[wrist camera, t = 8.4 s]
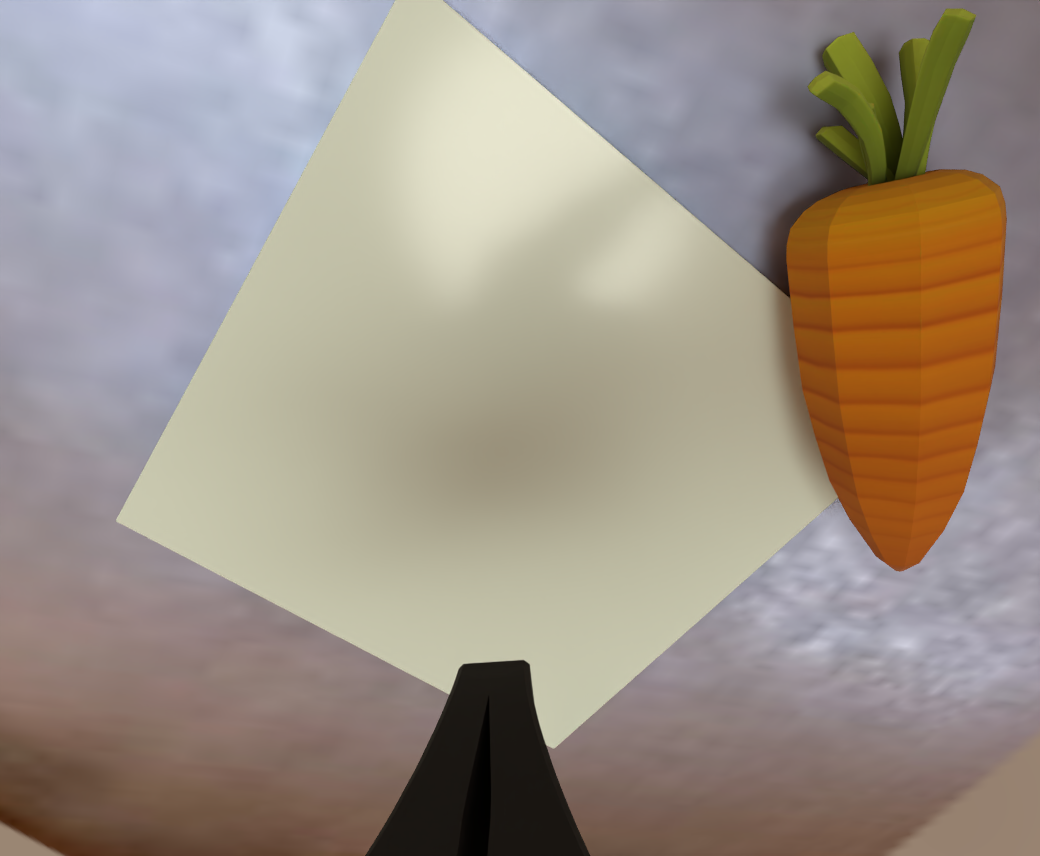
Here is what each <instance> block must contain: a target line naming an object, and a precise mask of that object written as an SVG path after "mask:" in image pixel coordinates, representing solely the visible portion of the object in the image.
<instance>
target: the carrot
mask: <svg viewBox="0 0 1040 856" xmlns="http://www.w3.org/2000/svg"><path fill="white" fill-rule="evenodd" d="M975 17H976V15H975V14H973V13H971V12H969V11H967V10H965V9H946V10H945V12H944V14H943V15H942V17H941V19H940V20H939V22H938V24H937V25H936V27H935V29H934V30H933V33H932V35H931V38H930V41H929V40H927V39H925V38H919V39H911V40H909V41H907V42H906V43H904V44H903V46H902V48H901V50H900V52H899V59H900V70H901V78H902V85H903V92H904V99H905V112H904V130H903V138H902V134H901V130H900V126H899V122H898V119H897V116H896V112H895V109H894V106H893V103H892V99H891V96H890V94H889V92H888V90H887V88H886V86H885V84H884V82H883V80H882V78H881V77H880V75H879V73H878V71H877V69H876V67H875V65H874V63H873V61H872V59H871V58H870V56H869V55H868V53H867V52H866V50H865V49H864V47H863V46H862V44H861V42H860V41H859V39H858V38H857V36H856V35H855V33H854V32H852V33H849V34H846V35H843V36H840V37H838V38H837V39H835V40H834V41H833V42H832V43H831V44H830V45H829V46H828V47H827V48H826V49H825V51H824V53H823V55H822V57H823V61H824V65H825V67H826V69H827V70H828V71H824V72H823V73H821V74H820V75H818V76H817V77H815V78H814V79H813V80H812V82H811V83H810V84H809V85H808V89H809V91H810V92H811V93H812V94H814V95H815V96H816V97H818V98H820V99H821V100H823V101H825V102H826V103H828V104H830V105H832V106H833V107H835V108H836V109H837V110H838V111H839V112H840V113H841V115H842V116H843V117H844V118H845V119H846V120H847V121H848V123H849V124H850V126H851V127H852V128H853V130H854V131H855V133H856V134H857V136H858V139H857V138H856V137H855V136H854V135H852V134H851V133H850V132H849V131H848V130H847V129H845V128H844V127H843V126H842V125H841V126H829V127H822V128H821V129H820V131H819V132H818V133H817V134H816V135H815V136H816V138H817V139H818V140H819V141H820V142H821V143H822V144H824V145H825V146H826V147H827V148H829V149H830V150H831V151H832V152H833V153H835V154H836V155H837V156H838V157H840V158H841V159H842V160H843V161H845V162H846V163H847V164H848V165H850V166H851V167H852V168H854V169H855V170H856V171H857V172H859V173H860V174H861V175H863V176H864V177H865V178H866V179H868V184H863V185H859V186H855V187H850V188H847V189H844V190H841V191H839V192H836V193H834V194H832V195H830V196H828V197H825V198H823V199H821V200H819V201H817V202H816V203H815V204H813V205H812V206H811V207H809V208H808V209H807V210H805V211H804V212H803V213H802V214H801V216H800V217H799V218H798V219H797V221H796V222H795V223H794V225H793V226H792V227H791V228H790V232H789V237H788V241H787V254H786V261H787V270H788V280H789V289H790V299H791V308H792V318H793V327H794V334H795V341H796V348H797V355H798V363H799V370H800V377H801V384H802V390H803V394H804V398H805V401H806V405H807V409H808V412H809V416H810V420H811V423H812V427H813V431H814V435H815V438H816V441H817V444H818V447H819V450H820V453H821V456H822V460H823V463H824V466H825V469H826V472H827V475H828V478H829V481H830V483H831V485H832V487H833V488H834V490H835V492H836V494H837V496H838V498H839V500H840V502H841V504H842V506H843V507H844V509H845V511H846V513H847V515H848V517H849V519H850V520H851V522H852V523H853V525H854V526H855V527H856V529H857V530H858V532H859V533H860V534H861V536H862V537H863V539H864V540H865V541H866V543H867V544H868V546H869V547H870V548H871V550H872V551H873V553H874V554H875V555H876V557H878V558H879V559H881V560H882V561H883V562H885V563H886V564H887V565H889V566H890V567H891V568H893V569H894V570H896V571H904V570H906V569H908V568H910V567H912V566H914V565H916V564H918V563H920V561H921V560H922V559H923V557H924V556H925V555H926V553H927V552H928V551H929V549H930V548H931V547H932V545H933V544H934V543H935V541H936V540H937V539H938V537H939V536H940V535H941V534H942V532H943V531H944V529H945V527H946V525H947V523H948V521H949V520H950V518H951V516H952V514H953V512H954V510H955V508H956V506H957V504H958V502H959V500H960V498H961V496H962V494H963V493H964V489H965V486H966V482H967V479H968V475H969V472H970V468H971V465H972V461H973V458H974V454H975V451H976V447H977V444H978V440H979V435H980V431H981V427H982V422H983V418H984V414H985V409H986V405H987V401H988V396H989V392H990V387H991V383H992V378H993V374H994V369H995V361H996V351H997V341H998V331H999V320H1000V310H1001V300H1002V286H1003V270H1004V253H1005V237H1006V221H1007V218H1006V206H1005V200H1004V197H1003V195H1002V192H1001V189H1000V186H998V185H997V184H995V183H994V182H993V181H991V180H990V179H988V178H987V177H986V176H984V175H983V174H979V173H975V172H972V171H968V170H946V169H940V170H934V171H928V172H925V170H926V164H927V158H928V152H929V146H930V141H931V137H932V132H933V128H934V124H935V120H936V117H937V114H938V111H939V108H940V106H941V103H942V100H943V97H944V94H945V92H946V89H947V86H948V83H949V80H950V78H951V75H952V72H953V69H954V66H955V63H956V61H957V59H958V57H959V55H960V53H961V51H962V48H963V46H964V44H965V42H966V40H967V38H968V36H969V33H970V30H971V28H972V25H973V22H974V20H975Z"/></svg>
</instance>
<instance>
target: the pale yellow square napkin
mask: <svg viewBox="0 0 1040 856" xmlns="http://www.w3.org/2000/svg"><path fill="white" fill-rule="evenodd" d="M837 498H838V496H837V494H836V492H835V490H834V488H833V487H832V485H831V483H830V481H829V478H828V475H827V472H826V469H825V466H824V463H823V460H822V456H821V453H820V450H819V447H818V444H817V441H816V438H815V435H814V431H813V427H812V423H811V420H810V416H809V412H808V409H807V405H806V401H805V398H804V394H803V390H802V384H801V377H800V370H799V363H798V355H797V348H796V341H795V334H794V327H793V318H792V308H791V299H790V298H789V297H788V296H787V295H785V294H784V293H783V292H782V291H781V290H780V289H778V288H777V287H776V286H775V285H774V284H773V283H771V282H770V281H769V280H768V279H767V278H766V277H764V276H763V275H762V274H761V273H760V272H759V271H757V270H756V269H755V268H754V267H753V266H752V265H750V264H749V263H748V262H747V261H746V260H745V259H743V258H742V257H741V256H740V255H739V254H738V253H736V252H735V251H734V250H733V249H732V248H731V247H729V246H728V245H727V244H726V243H725V242H724V241H722V240H721V239H720V238H719V237H718V236H717V235H715V234H714V233H713V232H712V231H711V230H710V229H708V228H707V227H706V226H705V225H704V224H703V223H701V222H700V221H699V220H698V219H697V218H696V217H695V216H693V215H692V214H691V213H690V212H689V211H688V210H686V209H685V208H684V207H683V206H682V205H681V204H679V203H678V202H677V201H676V200H675V199H674V198H672V197H671V196H670V195H669V194H668V193H667V192H665V191H664V190H663V189H662V188H661V187H660V186H658V185H657V184H656V183H655V182H654V181H653V180H651V179H650V178H649V177H648V176H647V175H646V174H644V173H643V172H642V171H641V170H640V169H639V168H637V167H636V166H635V165H634V164H633V163H632V162H630V161H629V160H628V159H627V158H626V157H625V156H623V155H622V154H621V153H620V152H619V151H618V150H616V149H615V148H614V147H613V146H612V145H611V144H609V143H608V142H607V141H606V140H605V139H604V138H602V137H601V136H600V135H599V134H598V133H597V132H595V131H594V130H593V129H592V128H591V127H590V126H588V125H587V124H586V123H585V122H584V121H583V120H581V119H580V118H579V117H578V116H577V115H576V114H574V113H573V112H572V111H571V110H570V109H569V108H567V107H566V106H565V105H564V104H563V103H562V102H560V101H559V100H558V99H557V98H556V97H555V96H553V95H552V94H551V93H550V92H549V91H548V90H547V89H545V88H544V87H543V86H542V85H541V84H540V83H538V82H537V81H536V80H535V79H534V78H533V77H531V76H530V75H529V74H528V73H527V72H526V71H524V70H523V69H522V68H521V67H520V66H519V65H517V64H516V63H515V62H514V61H513V60H512V59H510V58H509V57H508V56H507V55H506V54H505V53H503V52H502V51H501V50H500V49H499V48H498V47H496V46H495V45H494V44H493V43H492V42H491V41H489V40H488V39H487V38H486V37H485V36H484V35H482V34H481V33H480V32H479V31H478V30H477V29H475V28H474V27H473V26H472V25H471V24H470V23H468V22H467V21H466V20H465V19H464V18H463V17H461V16H460V15H459V14H458V13H457V12H456V11H454V10H453V9H452V8H451V7H450V6H449V5H447V4H446V3H445V2H444V1H443V0H395V2H394V4H393V6H392V8H391V10H390V11H389V13H388V15H387V17H386V19H385V21H384V23H383V24H382V26H381V28H380V30H379V32H378V34H377V36H376V37H375V39H374V41H373V43H372V45H371V47H370V49H369V50H368V52H367V54H366V56H365V58H364V60H363V62H362V63H361V65H360V67H359V69H358V71H357V73H356V75H355V77H354V78H353V80H352V82H351V84H350V86H349V88H348V90H347V91H346V93H345V95H344V97H343V99H342V101H341V103H340V104H339V106H338V108H337V110H336V112H335V114H334V116H333V117H332V119H331V121H330V123H329V125H328V127H327V129H326V131H325V132H324V134H323V136H322V138H321V140H320V142H319V144H318V145H317V147H316V149H315V151H314V153H313V155H312V157H311V158H310V160H309V162H308V164H307V166H306V168H305V170H304V171H303V173H302V175H301V177H300V179H299V181H298V183H297V184H296V186H295V188H294V190H293V192H292V194H291V196H290V198H289V199H288V201H287V203H286V205H285V207H284V209H283V211H282V212H281V214H280V216H279V218H278V220H277V222H276V224H275V225H274V227H273V229H272V231H271V233H270V235H269V237H268V238H267V240H266V242H265V244H264V246H263V248H262V250H261V252H260V253H259V255H258V257H257V259H256V261H255V263H254V265H253V266H252V268H251V270H250V272H249V274H248V276H247V278H246V279H245V281H244V283H243V285H242V287H241V289H240V291H239V292H238V294H237V296H236V298H235V300H234V302H233V304H232V305H231V307H230V309H229V311H228V313H227V315H226V317H225V319H224V320H223V322H222V324H221V326H220V328H219V330H218V332H217V333H216V335H215V337H214V339H213V341H212V343H211V345H210V346H209V348H208V350H207V352H206V354H205V356H204V358H203V359H202V361H201V363H200V365H199V367H198V369H197V371H196V372H195V374H194V376H193V378H192V380H191V382H190V384H189V386H188V387H187V389H186V391H185V393H184V395H183V397H182V399H181V400H180V402H179V404H178V406H177V408H176V410H175V412H174V413H173V415H172V417H171V419H170V421H169V423H168V425H167V426H166V428H165V430H164V432H163V434H162V436H161V438H160V440H159V441H158V443H157V445H156V447H155V449H154V451H153V453H152V454H151V456H150V458H149V460H148V462H147V464H146V466H145V467H144V469H143V471H142V473H141V475H140V477H139V479H138V480H137V482H136V484H135V486H134V488H133V490H132V492H131V493H130V495H129V497H128V499H127V501H126V503H125V505H124V507H123V508H122V510H121V512H120V514H119V516H118V518H117V520H116V521H117V522H119V523H120V524H122V525H124V526H126V527H128V528H130V529H132V530H134V531H136V532H138V533H140V534H142V535H144V536H145V537H147V538H149V539H151V540H153V541H155V542H157V543H159V544H161V545H163V546H165V547H167V548H169V549H170V550H172V551H174V552H176V553H178V554H180V555H182V556H184V557H186V558H188V559H190V560H192V561H194V562H195V563H197V564H199V565H201V566H203V567H205V568H207V569H209V570H211V571H213V572H215V573H217V574H219V575H220V576H222V577H224V578H226V579H228V580H230V581H232V582H234V583H236V584H238V585H240V586H242V587H244V588H245V589H247V590H249V591H251V592H253V593H255V594H257V595H259V596H261V597H263V598H265V599H267V600H269V601H271V602H272V603H274V604H276V605H278V606H280V607H282V608H284V609H286V610H288V611H290V612H292V613H294V614H296V615H297V616H299V617H301V618H303V619H305V620H307V621H309V622H311V623H313V624H315V625H317V626H319V627H321V628H322V629H324V630H326V631H328V632H330V633H332V634H334V635H336V636H338V637H340V638H342V639H344V640H346V641H347V642H349V643H351V644H353V645H355V646H357V647H359V648H361V649H363V650H365V651H367V652H369V653H371V654H372V655H374V656H376V657H378V658H380V659H382V660H384V661H386V662H388V663H390V664H392V665H394V666H396V667H397V668H399V669H401V670H403V671H405V672H407V673H409V674H411V675H413V676H415V677H417V678H419V679H421V680H422V681H424V682H426V683H428V684H430V685H432V686H434V687H436V688H438V689H440V690H442V691H444V692H446V693H448V694H449V695H450V692H451V689H452V687H453V684H454V681H455V679H456V675H457V672H458V669H459V668H460V667H461V666H462V665H463V664H468V663H483V662H498V661H514V660H525V661H526V662H528V663H529V664H530V670H531V679H532V687H533V695H534V704H535V708H536V712H537V716H538V720H539V724H540V727H541V731H542V734H543V737H544V741H545V744H546V745H548V746H549V747H551V748H553V749H554V748H555V747H556V746H557V745H559V744H560V743H561V742H562V741H563V740H564V739H565V738H567V737H568V736H569V735H570V734H571V733H572V732H573V731H574V730H576V729H577V728H578V727H579V726H580V725H581V724H582V723H584V722H585V721H586V720H587V719H588V718H589V717H590V716H591V715H593V714H594V713H595V712H596V711H597V710H598V709H599V708H601V707H602V706H603V705H604V704H605V703H606V702H607V701H608V700H610V699H611V698H612V697H613V696H614V695H615V694H616V693H617V692H619V691H620V690H621V689H622V688H623V687H624V686H625V685H627V684H628V683H629V682H630V681H631V680H632V679H633V678H634V677H636V676H637V675H638V674H639V673H640V672H641V671H642V670H644V669H645V668H646V667H647V666H648V665H649V664H650V663H651V662H653V661H654V660H655V659H656V658H657V657H658V656H659V655H661V654H662V653H663V652H664V651H665V650H666V649H667V648H668V647H670V646H671V645H672V644H673V643H674V642H675V641H676V640H677V639H679V638H680V637H681V636H682V635H683V634H684V633H685V632H687V631H688V630H689V629H690V628H691V627H692V626H693V625H694V624H696V623H697V622H698V621H699V620H700V619H701V618H702V617H704V616H705V615H706V614H707V613H708V612H709V611H710V610H711V609H713V608H714V607H715V606H716V605H717V604H718V603H719V602H721V601H722V600H723V599H724V598H725V597H726V596H727V595H728V594H730V593H731V592H732V591H733V590H734V589H735V588H736V587H738V586H739V585H740V584H741V583H742V582H743V581H744V580H745V579H747V578H748V577H749V576H750V575H751V574H752V573H753V572H754V571H756V570H757V569H758V568H759V567H760V566H761V565H762V564H764V563H765V562H766V561H767V560H768V559H769V558H770V557H771V556H773V555H774V554H775V553H776V552H777V551H778V550H779V549H781V548H782V547H783V546H784V545H785V544H786V543H787V542H788V541H790V540H791V539H792V538H793V537H794V536H795V535H796V534H798V533H799V532H800V531H801V530H802V529H803V528H804V527H805V526H807V525H808V524H809V523H810V522H811V521H812V520H813V519H814V518H816V517H817V516H818V515H819V514H820V513H821V512H822V511H824V510H825V509H826V508H827V507H828V506H829V505H830V504H831V503H833V502H834V501H835V500H836V499H837Z"/></svg>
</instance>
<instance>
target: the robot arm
mask: <svg viewBox="0 0 1040 856" xmlns="http://www.w3.org/2000/svg"><path fill="white" fill-rule="evenodd" d="M365 856H590V854H589V852H588V850H587V848H586V845H585V843H584V841H583V839H582V837H581V835H580V832H579V830H578V828H577V826H576V823H575V821H574V819H573V816H572V814H571V811H570V809H569V807H568V804H567V802H566V799H565V797H564V794H563V792H562V789H561V786H560V784H559V781H558V779H557V776H556V773H555V770H554V768H553V765H552V762H551V759H550V756H549V753H548V750H547V747H546V744H545V741H544V737H543V734H542V731H541V727H540V724H539V720H538V716H537V712H536V708H535V704H534V695H533V687H532V679H531V670H530V664H529V663H528V662H526V661H525V660H514V661H498V662H483V663H468V664H463V665H462V666H461V667H460V668H459V669H458V672H457V675H456V679H455V681H454V684H453V687H452V689H451V692H450V695H449V697H448V700H447V702H446V705H445V707H444V709H443V712H442V714H441V716H440V719H439V721H438V723H437V725H436V728H435V730H434V732H433V734H432V736H431V738H430V740H429V742H428V744H427V747H426V749H425V751H424V753H423V755H422V757H421V759H420V761H419V763H418V765H417V767H416V769H415V771H414V773H413V775H412V776H411V778H410V780H409V782H408V784H407V786H406V787H405V789H404V791H403V793H402V795H401V797H400V798H399V800H398V802H397V804H396V806H395V808H394V809H393V811H392V813H391V815H390V816H389V818H388V820H387V821H386V823H385V825H384V826H383V828H382V830H381V831H380V833H379V835H378V836H377V838H376V840H375V841H374V843H373V844H372V846H371V848H370V849H369V851H368V852H367V854H366V855H365Z"/></svg>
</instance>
